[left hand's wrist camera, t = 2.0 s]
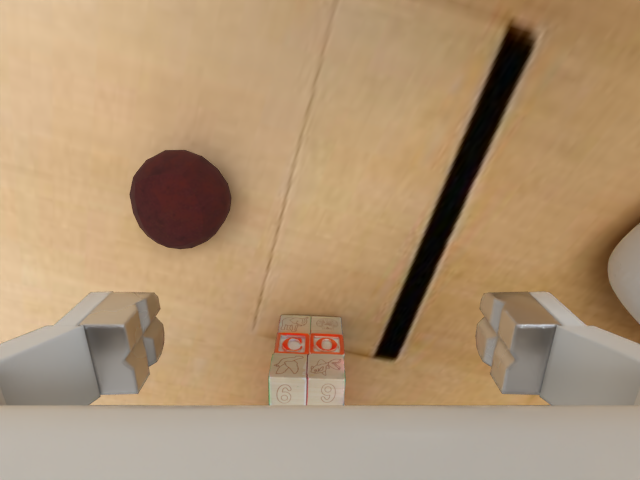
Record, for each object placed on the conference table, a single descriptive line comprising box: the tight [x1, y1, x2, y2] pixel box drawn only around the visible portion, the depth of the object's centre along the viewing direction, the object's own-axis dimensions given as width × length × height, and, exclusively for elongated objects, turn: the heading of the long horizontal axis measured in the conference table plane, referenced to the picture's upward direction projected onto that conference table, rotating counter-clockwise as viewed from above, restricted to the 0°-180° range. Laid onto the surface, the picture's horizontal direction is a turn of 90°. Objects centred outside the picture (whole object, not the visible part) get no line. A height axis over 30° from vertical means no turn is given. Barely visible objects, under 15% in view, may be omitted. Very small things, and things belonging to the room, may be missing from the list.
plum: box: [130, 150, 231, 249], centre depth 32 cm, size 7×8×7 cm
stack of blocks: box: [269, 315, 346, 405], centre depth 38 cm, size 21×6×12 cm, turn 177°
